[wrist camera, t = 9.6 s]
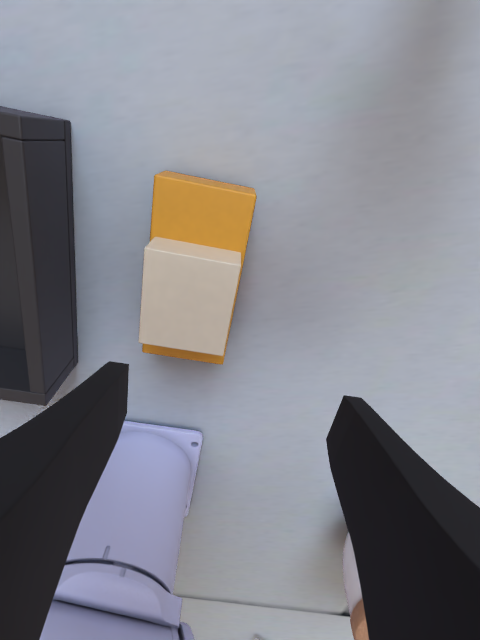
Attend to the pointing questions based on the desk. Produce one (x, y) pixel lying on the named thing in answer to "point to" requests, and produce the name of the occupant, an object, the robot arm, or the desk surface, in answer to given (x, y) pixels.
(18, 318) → the storage box
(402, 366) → the desk surface
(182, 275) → the two-tone block
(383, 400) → the desk surface
